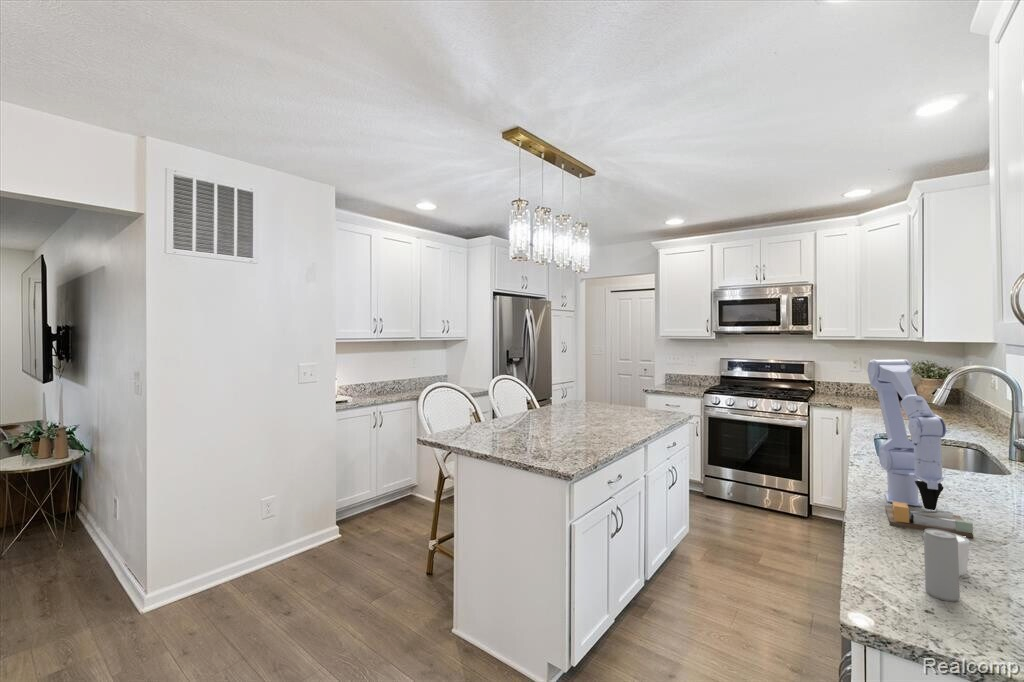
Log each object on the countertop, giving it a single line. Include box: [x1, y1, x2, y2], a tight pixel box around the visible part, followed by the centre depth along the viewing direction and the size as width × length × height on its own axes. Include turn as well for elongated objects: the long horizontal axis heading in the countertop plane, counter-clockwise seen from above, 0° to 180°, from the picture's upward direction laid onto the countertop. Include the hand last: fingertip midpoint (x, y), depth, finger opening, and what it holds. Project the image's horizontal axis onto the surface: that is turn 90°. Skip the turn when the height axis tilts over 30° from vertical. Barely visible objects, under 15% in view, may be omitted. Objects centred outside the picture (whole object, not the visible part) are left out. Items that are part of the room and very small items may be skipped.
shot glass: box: [953, 533, 971, 576], centre depth 99 cm, size 7×7×7 cm
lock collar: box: [891, 501, 910, 523], centre depth 123 cm, size 4×3×4 cm
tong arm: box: [909, 510, 954, 519], centre depth 123 cm, size 2×10×2 cm, turn 84°
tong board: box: [884, 504, 974, 539], centre depth 124 cm, size 15×16×3 cm
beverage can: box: [923, 529, 961, 603], centre depth 88 cm, size 5×5×12 cm
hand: (929, 508), depth 127 cm, fingers closed
